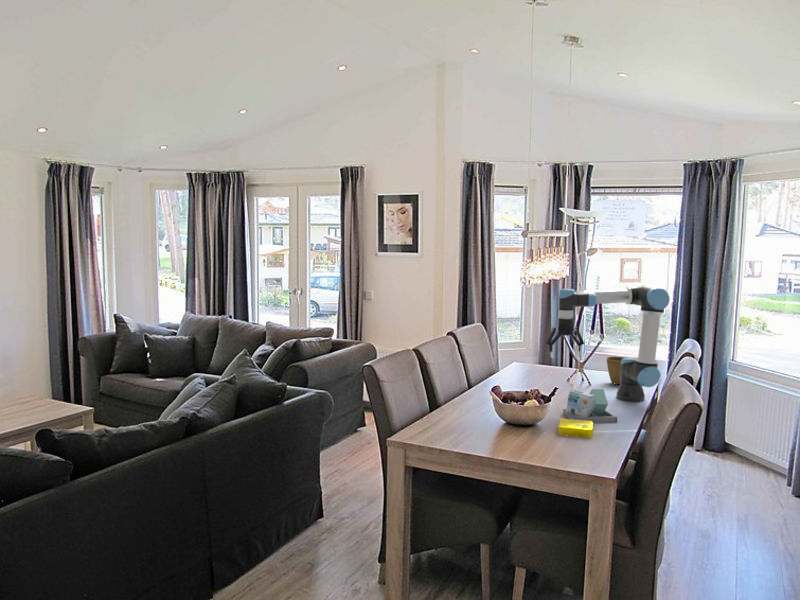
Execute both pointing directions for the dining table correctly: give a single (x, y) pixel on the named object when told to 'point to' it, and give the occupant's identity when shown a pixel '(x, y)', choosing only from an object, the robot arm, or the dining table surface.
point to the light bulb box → (580, 403)
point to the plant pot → (614, 368)
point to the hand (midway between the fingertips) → (564, 357)
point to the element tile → (575, 427)
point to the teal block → (598, 401)
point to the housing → (592, 417)
